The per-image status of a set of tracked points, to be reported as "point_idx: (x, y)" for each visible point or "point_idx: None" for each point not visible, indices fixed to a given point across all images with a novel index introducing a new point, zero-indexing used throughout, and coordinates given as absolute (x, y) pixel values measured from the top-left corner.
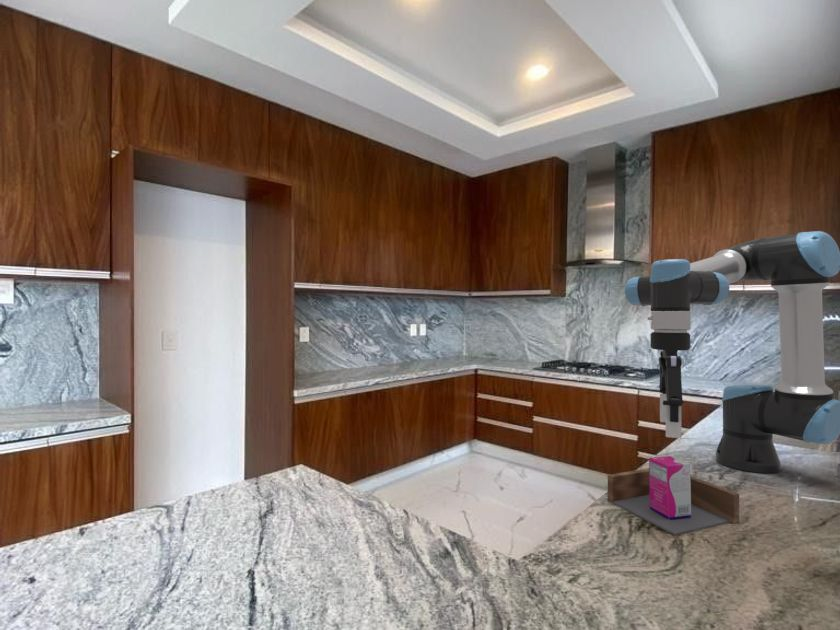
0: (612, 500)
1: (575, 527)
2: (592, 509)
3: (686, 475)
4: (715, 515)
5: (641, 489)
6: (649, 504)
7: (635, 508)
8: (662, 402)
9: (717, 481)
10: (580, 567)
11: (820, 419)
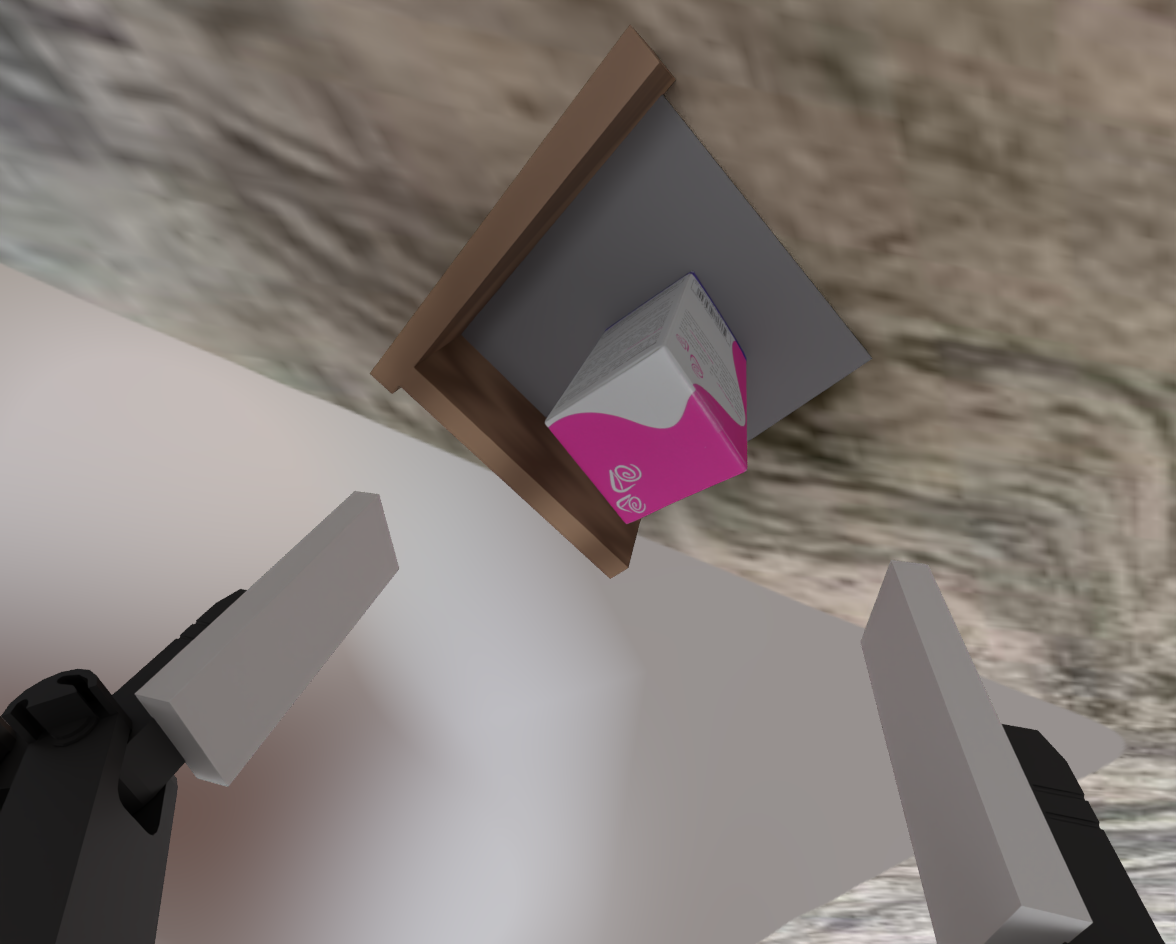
0: None
1: None
2: (718, 565)
3: (687, 345)
4: (629, 158)
5: (540, 430)
6: None
7: None
8: (286, 687)
9: (168, 62)
10: (1145, 633)
11: None
